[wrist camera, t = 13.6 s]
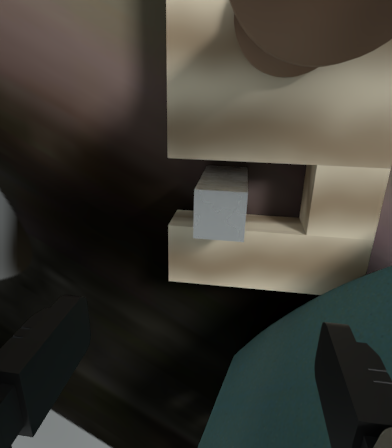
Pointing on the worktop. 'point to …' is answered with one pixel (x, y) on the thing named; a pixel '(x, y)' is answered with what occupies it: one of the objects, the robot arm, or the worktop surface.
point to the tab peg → (221, 203)
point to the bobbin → (309, 32)
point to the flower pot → (296, 369)
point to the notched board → (278, 154)
